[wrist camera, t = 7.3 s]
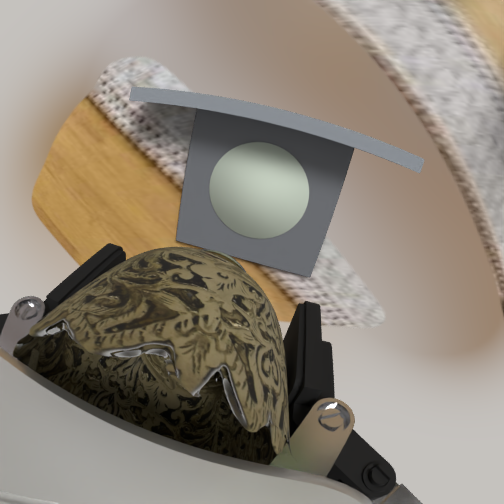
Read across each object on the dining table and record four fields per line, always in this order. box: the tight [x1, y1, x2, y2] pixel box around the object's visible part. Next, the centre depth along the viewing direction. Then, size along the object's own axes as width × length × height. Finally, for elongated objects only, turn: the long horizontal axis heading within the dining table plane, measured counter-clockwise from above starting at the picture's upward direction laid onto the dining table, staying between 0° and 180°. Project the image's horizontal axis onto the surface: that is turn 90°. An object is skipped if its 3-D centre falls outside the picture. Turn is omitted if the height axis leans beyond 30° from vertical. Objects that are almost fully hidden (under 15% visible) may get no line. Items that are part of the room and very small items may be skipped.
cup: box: [13, 247, 290, 465], centre depth 9 cm, size 8×7×8 cm
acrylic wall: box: [129, 87, 424, 173], centre depth 21 cm, size 24×1×4 cm, turn 77°
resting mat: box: [176, 108, 354, 277], centre depth 26 cm, size 14×14×1 cm
